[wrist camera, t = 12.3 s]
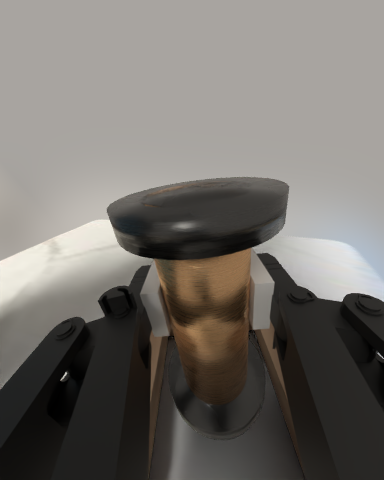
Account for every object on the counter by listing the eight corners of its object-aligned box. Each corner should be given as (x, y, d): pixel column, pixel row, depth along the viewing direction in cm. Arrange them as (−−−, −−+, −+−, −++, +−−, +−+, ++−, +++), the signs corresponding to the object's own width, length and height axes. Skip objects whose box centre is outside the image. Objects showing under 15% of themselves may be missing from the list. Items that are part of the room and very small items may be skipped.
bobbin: (164, 442, 9) (57, 233, 4) (175, 334, 14) (138, 188, 9) (282, 438, 9) (349, 200, 3) (248, 329, 14) (252, 173, 9)
